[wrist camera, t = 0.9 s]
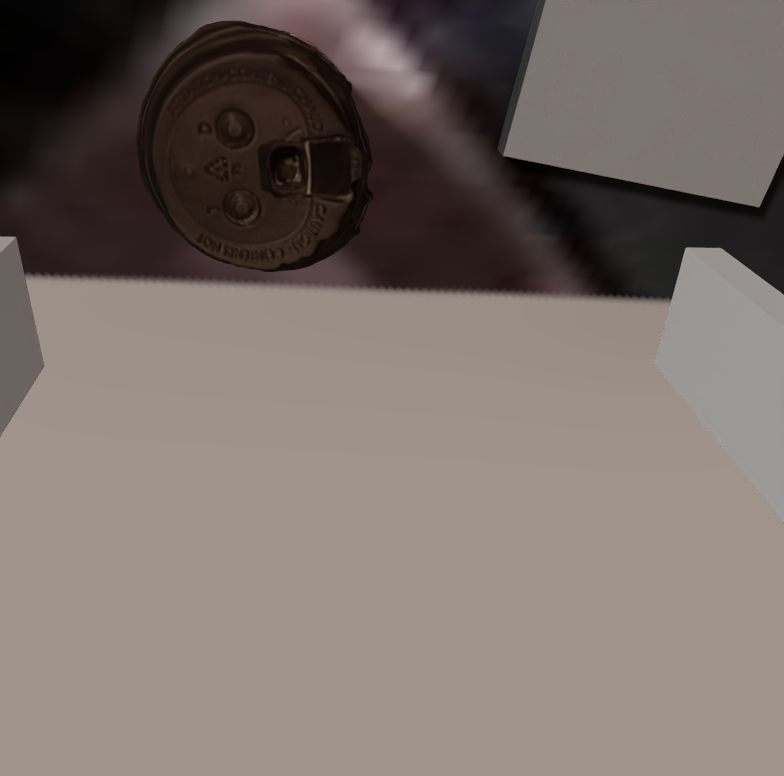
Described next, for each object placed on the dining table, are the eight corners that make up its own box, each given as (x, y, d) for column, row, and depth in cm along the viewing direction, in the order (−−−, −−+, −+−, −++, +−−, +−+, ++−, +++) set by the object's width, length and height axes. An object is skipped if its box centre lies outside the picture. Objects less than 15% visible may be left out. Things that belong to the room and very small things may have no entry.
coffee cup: (404, 94, 36) (435, 158, 25) (302, 224, 39) (289, 334, 28) (254, -38, 33) (212, -32, 22) (156, 115, 36) (74, 190, 25)
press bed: (497, 148, 38) (503, 155, 36) (588, -191, 31) (600, -197, 29) (745, 199, 40) (759, 207, 38) (882, -107, 33) (904, -110, 32)
